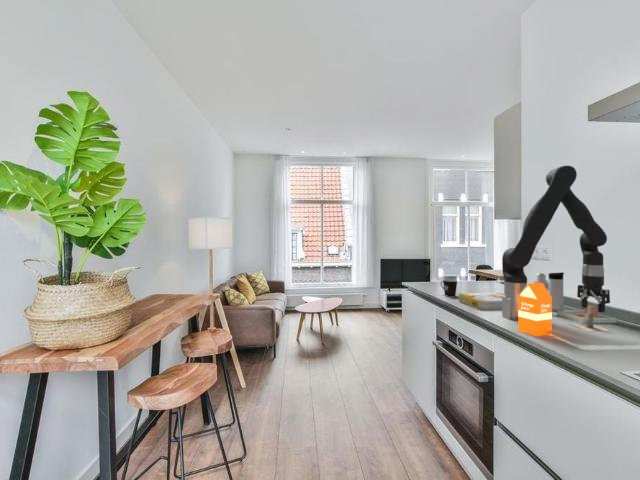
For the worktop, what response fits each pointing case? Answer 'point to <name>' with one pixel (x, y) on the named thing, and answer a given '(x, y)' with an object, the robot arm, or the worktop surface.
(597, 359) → the worktop surface
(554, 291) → the travel mug
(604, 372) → the worktop surface
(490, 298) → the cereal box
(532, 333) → the orange juice
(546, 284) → the plastic bottle
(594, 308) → the collar
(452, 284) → the coffee mug
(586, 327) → the wooden peg stand
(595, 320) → the tray
